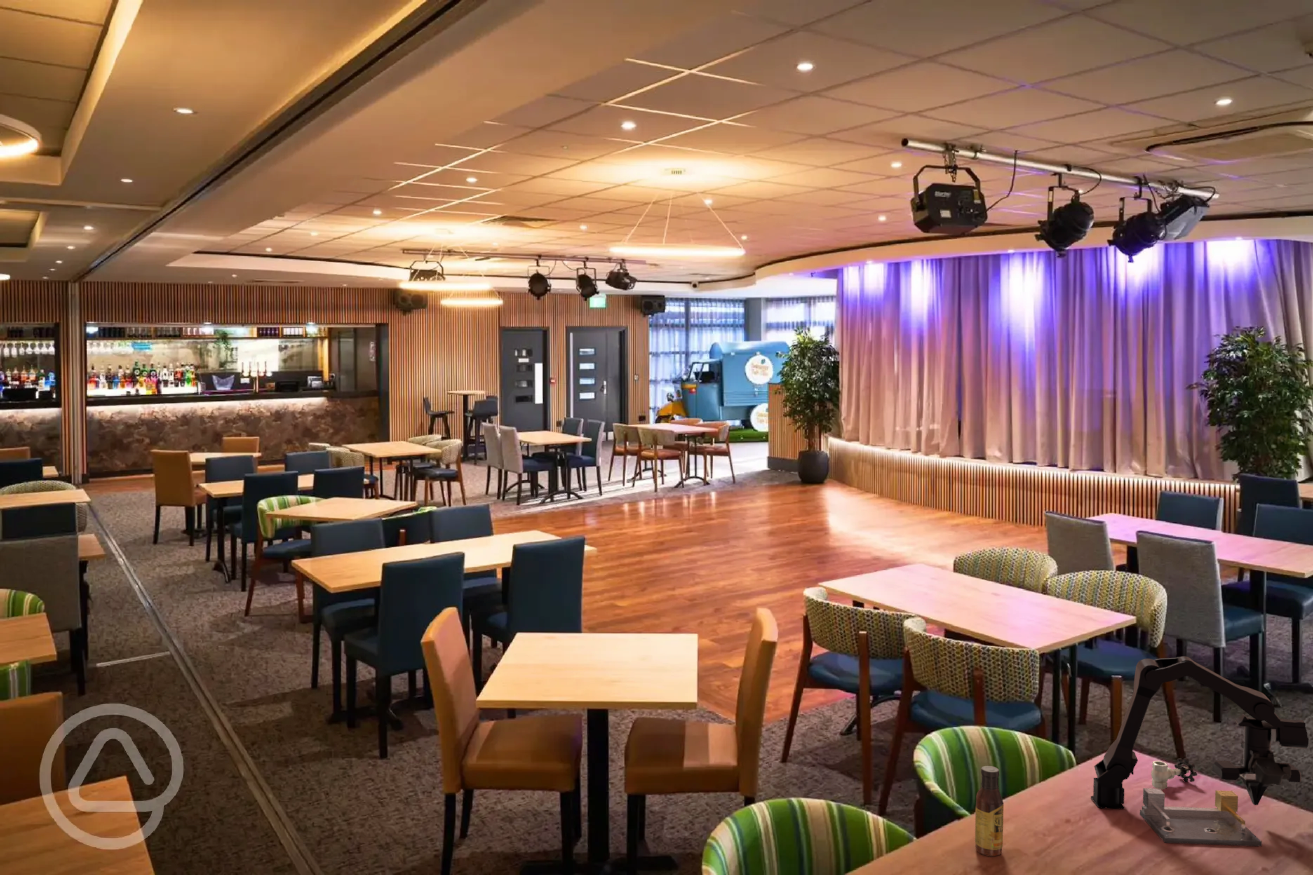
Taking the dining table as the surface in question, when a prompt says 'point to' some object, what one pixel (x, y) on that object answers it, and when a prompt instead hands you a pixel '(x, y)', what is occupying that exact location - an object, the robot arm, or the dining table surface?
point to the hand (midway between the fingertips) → (1255, 804)
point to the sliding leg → (1229, 805)
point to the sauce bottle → (989, 814)
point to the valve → (1171, 772)
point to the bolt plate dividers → (1193, 823)
